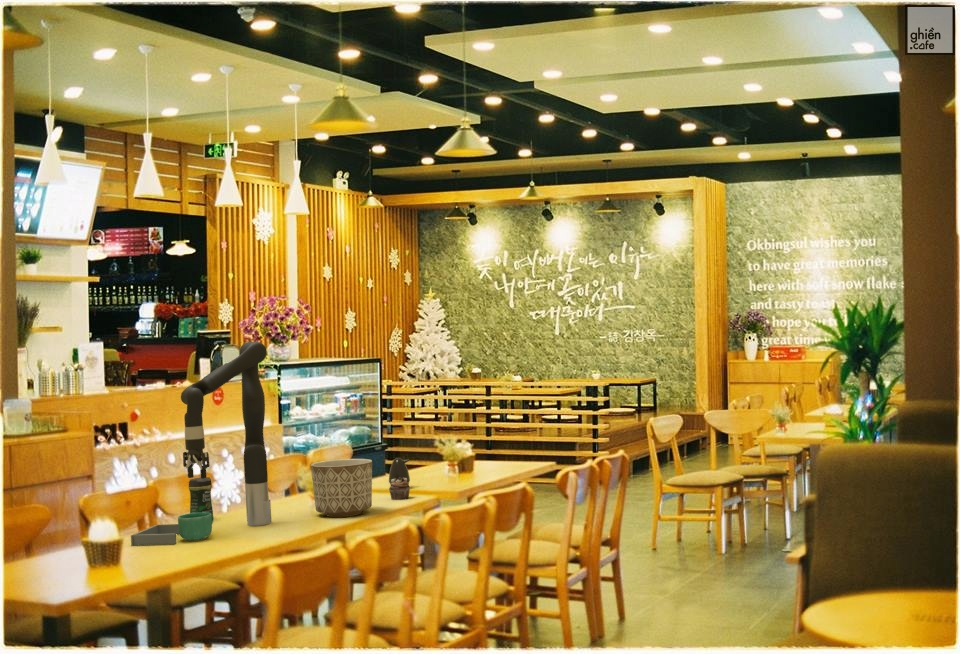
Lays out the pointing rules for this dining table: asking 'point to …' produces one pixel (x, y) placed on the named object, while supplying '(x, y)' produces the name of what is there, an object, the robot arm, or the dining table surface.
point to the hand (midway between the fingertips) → (197, 478)
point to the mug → (195, 526)
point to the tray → (156, 535)
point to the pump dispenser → (399, 469)
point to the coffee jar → (200, 495)
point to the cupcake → (399, 488)
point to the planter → (342, 486)
